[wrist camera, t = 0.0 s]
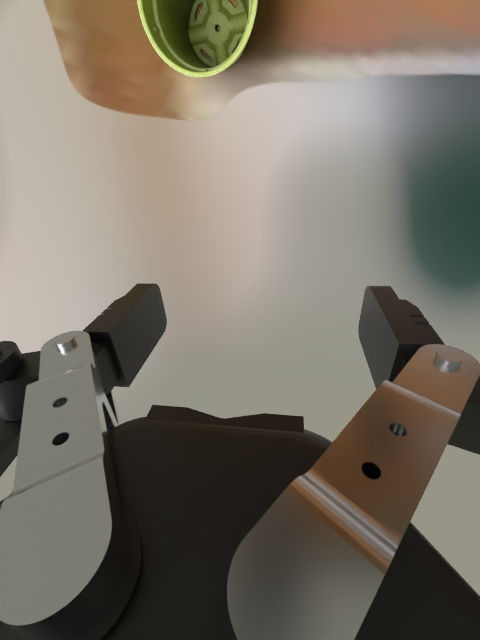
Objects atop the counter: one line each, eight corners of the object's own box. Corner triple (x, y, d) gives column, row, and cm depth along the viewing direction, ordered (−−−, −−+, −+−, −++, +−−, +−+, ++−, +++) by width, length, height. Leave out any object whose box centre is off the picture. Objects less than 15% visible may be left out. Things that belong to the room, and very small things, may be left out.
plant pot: (286, 7, 28) (284, -39, 20) (233, 110, 32) (217, 103, 25) (201, -70, 26) (166, -150, 19) (159, 51, 31) (118, 25, 23)
